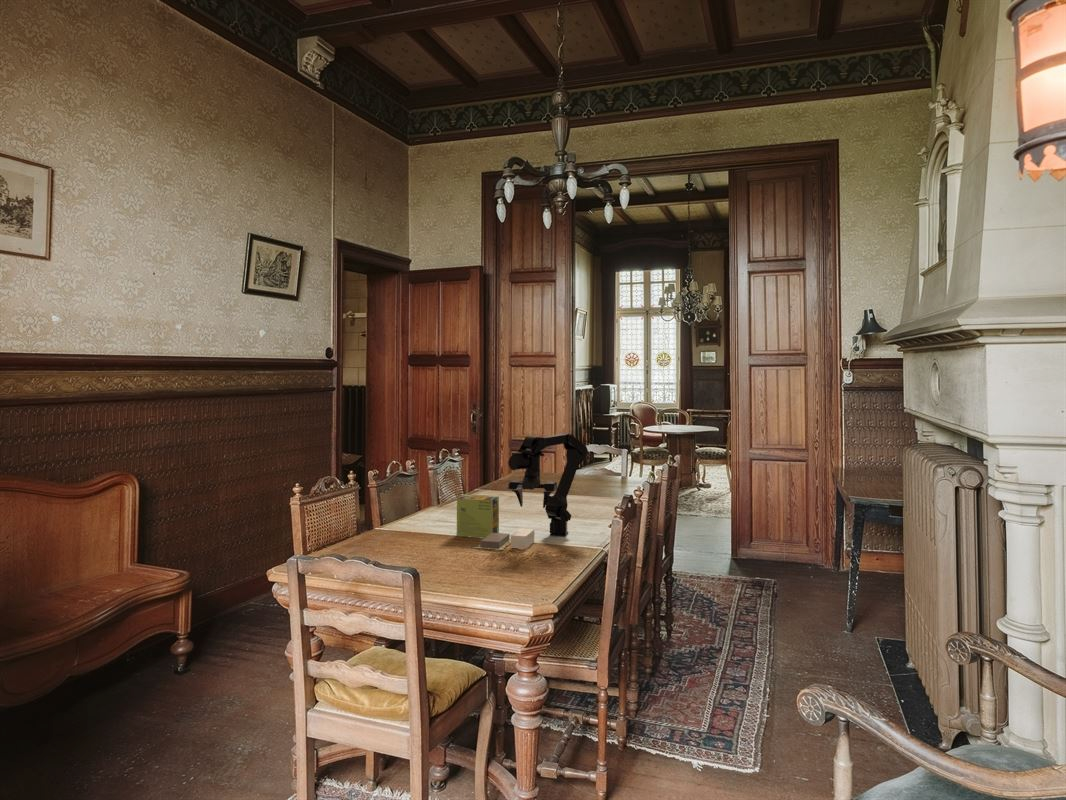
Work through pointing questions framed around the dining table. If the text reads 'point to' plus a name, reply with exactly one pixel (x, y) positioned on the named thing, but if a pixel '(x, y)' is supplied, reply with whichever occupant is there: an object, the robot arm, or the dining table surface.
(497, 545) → the lid
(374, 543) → the dining table surface
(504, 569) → the dining table surface
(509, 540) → the mat
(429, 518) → the dining table surface
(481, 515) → the protein box
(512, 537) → the box
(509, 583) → the dining table surface
